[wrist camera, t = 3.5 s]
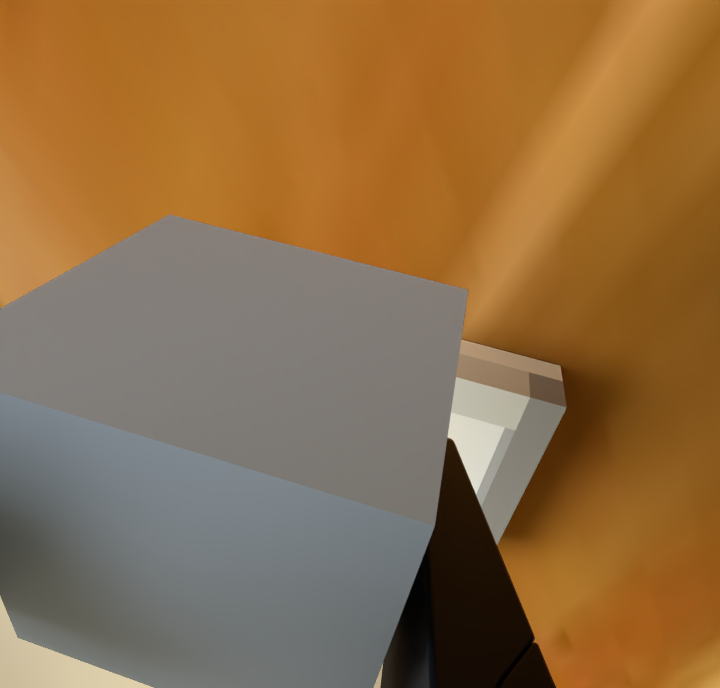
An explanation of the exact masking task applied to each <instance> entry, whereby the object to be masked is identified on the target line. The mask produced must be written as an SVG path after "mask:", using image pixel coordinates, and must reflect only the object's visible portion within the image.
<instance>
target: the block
mask: <svg viewBox="0 0 720 688" xmlns="http://www.w3.org/2000/svg"><path fill="white" fill-rule="evenodd" d="M467 296H468V290H467V289H463V288H459V287H455V286H451V285H447V284H443V283H439V282H435V281H431V280H427V279H423V278H419V277H415V276H411V275H407V274H403V273H399V272H395V271H391V270H387V269H383V268H379V267H375V266H371V265H367V264H363V263H359V262H356V261H352V260H348V259H344V258H340V257H336V256H332V255H328V254H324V253H320V252H316V251H312V250H308V249H304V248H300V247H296V246H292V245H288V244H284V243H280V242H276V241H272V240H268V239H264V238H260V237H256V236H252V235H248V234H244V233H240V232H236V231H232V230H228V229H224V228H220V227H216V226H212V225H208V224H205V223H201V222H197V221H193V220H189V219H185V218H181V217H177V216H173V215H168V216H166V217H164V218H162V219H160V220H159V221H157V222H155V223H153V224H152V225H150V226H148V227H146V228H144V229H143V230H141V231H139V232H137V233H135V234H134V235H132V236H130V237H128V238H126V239H125V240H123V241H121V242H119V243H117V244H116V245H114V246H112V247H110V248H108V249H107V250H105V251H103V252H101V253H99V254H98V255H96V256H94V257H92V258H90V259H89V260H87V261H85V262H83V263H81V264H80V265H78V266H76V267H74V268H72V269H71V270H69V271H67V272H65V273H63V274H62V275H60V276H58V277H56V278H54V279H53V280H51V281H49V282H47V283H45V284H44V285H42V286H40V287H38V288H37V289H35V290H33V291H31V292H29V293H28V294H26V295H24V296H22V297H20V298H19V299H17V300H15V301H13V302H11V303H10V304H8V305H6V306H4V307H2V308H1V309H0V596H1V598H2V601H3V603H4V606H5V608H6V610H7V613H8V615H9V618H10V620H11V622H12V624H13V627H14V630H15V632H16V634H17V637H18V638H21V639H23V640H26V641H28V642H32V643H34V644H37V645H39V646H42V647H45V648H48V649H51V650H53V651H56V652H59V653H61V654H64V655H67V656H70V657H72V658H75V659H78V660H80V661H83V662H86V663H89V664H92V665H94V666H97V667H100V668H102V669H105V670H108V671H110V672H113V673H116V674H119V675H121V676H124V677H127V678H130V679H132V680H135V681H138V682H141V683H143V684H146V685H149V686H151V687H154V688H373V687H374V685H375V682H376V679H377V677H378V674H379V671H380V669H381V666H382V664H383V661H384V658H385V656H386V653H387V650H388V648H389V645H390V643H391V640H392V637H393V635H394V632H395V629H396V627H397V624H398V621H399V619H400V616H401V614H402V611H403V608H404V606H405V603H406V600H407V598H408V595H409V593H410V590H411V587H412V585H413V582H414V579H415V577H416V574H417V572H418V569H419V566H420V564H421V561H422V558H423V556H424V553H425V551H426V548H427V545H428V543H429V540H430V537H431V535H432V532H433V529H434V527H435V521H436V514H437V507H438V500H439V493H440V486H441V479H442V472H443V465H444V458H445V451H446V444H447V437H448V430H449V423H450V416H451V409H452V402H453V395H454V388H455V381H456V373H457V366H458V359H459V352H460V345H461V338H462V331H463V324H464V317H465V310H466V303H467Z"/></svg>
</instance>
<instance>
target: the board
mask: <svg viewBox="0 0 720 688" xmlns="http://www.w3.org/2000/svg"><path fill="white" fill-rule="evenodd" d="M566 408H567V405H566V399H565V392H564V386H563V379H562V373H561V366H559V365H556V364H552V363H548V362H544V361H541V360H537V359H533V358H529V357H526V356H522V355H518V354H514V353H511V352H507V351H503V350H499V349H496V348H492V347H488V346H484V345H481V344H477V343H473V342H469V341H465V340H462V339H461V345H460V352H459V359H458V366H457V373H456V381H455V388H454V395H453V402H452V409H451V416H450V423H449V430H448V438H451V439H452V440H453V441H454V443H455V445H456V447H457V450H458V452H459V454H460V457H461V459H462V462H463V464H464V467H465V469H466V471H467V474H468V476H469V479H470V481H471V484H472V486H473V488H474V491H475V493H476V496H477V498H478V501H479V503H480V505H481V508H482V510H483V513H484V515H485V518H486V520H487V522H488V525H489V527H490V530H491V532H492V534H493V537H494V539H495V542H496V544H498V543H499V541H500V539H501V537H502V535H503V533H504V531H505V529H506V527H507V525H508V523H509V521H510V519H511V517H512V515H513V513H514V511H515V509H516V507H517V505H518V503H519V501H520V499H521V497H522V495H523V493H524V491H525V489H526V487H527V485H528V483H529V481H530V479H531V477H532V475H533V473H534V471H535V469H536V467H537V465H538V464H539V462H540V460H541V458H542V456H543V454H544V452H545V450H546V448H547V446H548V444H549V442H550V440H551V438H552V436H553V434H554V432H555V430H556V428H557V426H558V424H559V422H560V420H561V418H562V416H563V414H564V412H565V410H566Z"/></svg>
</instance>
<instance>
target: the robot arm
mask: <svg viewBox="0 0 720 688" xmlns="http://www.w3.org/2000/svg"><path fill="white" fill-rule="evenodd" d="M534 640H535V636H534V634H533V631H532V629H531V627H530V624H529V622H528V619H527V617H526V614H525V612H524V610H523V607H522V605H521V602H520V600H519V597H518V595H517V593H516V590H515V588H514V585H513V583H512V581H511V578H510V576H509V573H508V571H507V568H506V566H505V564H504V561H503V559H502V556H501V554H500V551H499V549H498V547H497V544H496V542H495V539H494V537H493V534H492V532H491V530H490V527H489V525H488V522H487V520H486V518H485V515H484V513H483V510H482V508H481V505H480V503H479V501H478V498H477V496H476V493H475V491H474V488H473V486H472V484H471V481H470V479H469V476H468V474H467V471H466V469H465V467H464V464H463V462H462V459H461V457H460V454H459V452H458V450H457V447H456V445H455V443H454V441H453V440H452V439H451V438H448V437H447V444H446V451H445V458H444V465H443V472H442V479H441V486H440V493H439V500H438V507H437V514H436V521H435V527H434V529H433V532H432V535H431V537H430V540H429V543H428V545H427V548H426V551H425V553H424V556H423V558H422V561H421V564H420V566H419V569H418V572H417V574H416V577H415V579H414V582H413V585H412V587H411V590H410V593H409V595H408V598H407V600H406V603H405V606H404V608H403V611H402V614H401V616H400V619H399V621H398V624H397V627H396V629H395V632H394V635H393V637H392V640H391V643H390V645H389V648H388V650H387V653H386V656H385V658H384V661H383V669H382V679H381V688H556V686H555V684H554V682H553V679H552V677H551V675H550V672H549V670H548V667H547V665H546V663H545V660H544V658H543V655H542V653H541V650H540V648H539V645H538V644H537V643H533V642H534Z"/></svg>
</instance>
